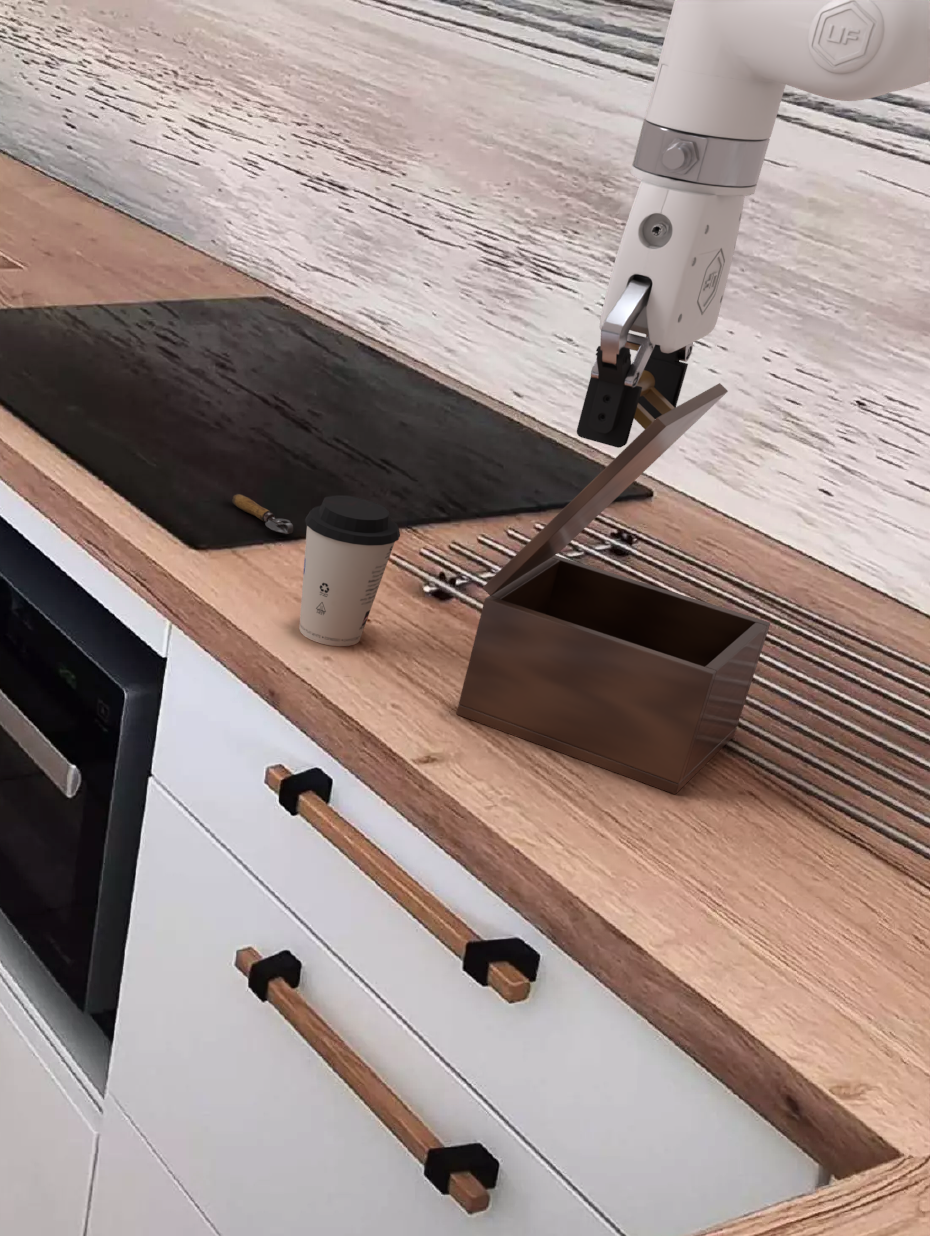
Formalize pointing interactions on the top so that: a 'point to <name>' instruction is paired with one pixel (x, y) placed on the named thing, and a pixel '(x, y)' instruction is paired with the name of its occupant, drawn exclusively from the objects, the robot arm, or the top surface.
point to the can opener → (262, 514)
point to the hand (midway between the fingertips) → (624, 427)
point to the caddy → (611, 671)
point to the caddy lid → (611, 477)
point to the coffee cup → (343, 567)
